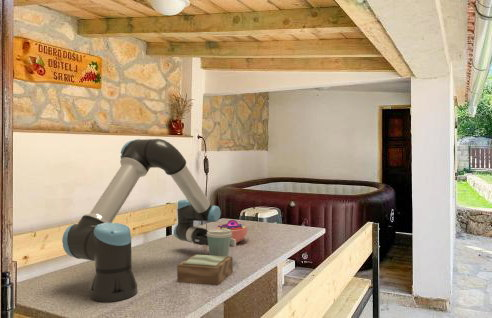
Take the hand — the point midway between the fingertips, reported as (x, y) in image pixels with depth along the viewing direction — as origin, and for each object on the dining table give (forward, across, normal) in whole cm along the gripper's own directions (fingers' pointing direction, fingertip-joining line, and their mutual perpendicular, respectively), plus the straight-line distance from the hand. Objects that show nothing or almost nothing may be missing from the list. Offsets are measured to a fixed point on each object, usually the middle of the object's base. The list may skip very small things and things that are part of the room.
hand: (231, 243), depth 168 cm
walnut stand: (+4, +17, -9) cm, 19 cm away
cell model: (-32, -28, -9) cm, 43 cm away
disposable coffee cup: (-4, +3, -9) cm, 11 cm away
